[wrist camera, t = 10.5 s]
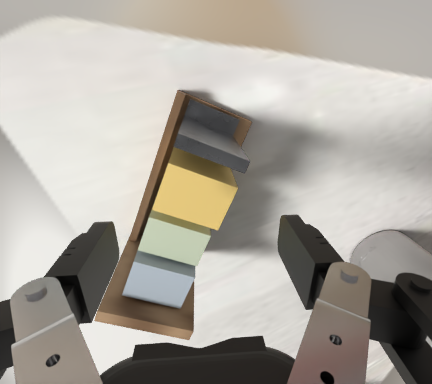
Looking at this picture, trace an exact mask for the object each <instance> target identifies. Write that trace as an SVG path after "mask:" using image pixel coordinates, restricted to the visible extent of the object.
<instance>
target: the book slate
mask: <svg viewBox="0 0 432 384" xmlns="http://www.w3.org/2000/svg"><path fill="white" fill-rule="evenodd" d="M194 279H195V266H194V265H190V264H187V263H183V262H179V261H176V260H172V259H168V258H165V257H161V256H157V255H154V254H150V253H146V252H143V251H139V250H138V251H137V253H136V256H135V259H134V262H133V265H132V268H131V271H130V274H129V276H128V279H127V282H126V285H125V288H124V291H123V294H122V296H127V297H131V298H136V299H140V300H144V301H149V302H153V303H157V304H162V305H166V306H170V307H175V308H179V309H180V308H181V306H182V304H183V302H184V300H185V298H186V296H187V294H188V292H189V290H190V287H191V285H192V283H193V281H194Z"/></svg>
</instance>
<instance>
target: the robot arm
mask: <svg viewBox="0 0 432 384" xmlns="http://www.w3.org/2000/svg"><path fill="white" fill-rule="evenodd" d="M278 252H279V255H280V257H281V259H282V261H283V263H284V265H285V267H286V270H287V272H288V274H289V276H290V278H291V280H292V282H293V284H294V286H295V288H296V290H297V292H298V295H299V297H300V299H301V301H302V303H303V305H304V307H305V309H306V310H311V309H313V311H312V314H311V316H310V319H309V322H308V325H307V328H306V331H305V333H304V336H303V339H302V342H301V345H300V348H299V351H298V353H297V356H296V359H294V358H292V357H291V356H289V355H287V354H285V353H283V352H281V351H279V350H276V349H273V348H269V347H266V346H265V343H264V339H263V336H254V337H240V338H231V339H228V340H225V341H222V342H219V343H216V344H213V345H210V346H207V347H204V348H193V347H188V346H183V345H177V344H172V343H155V344H141V345H135V349H134V353H133V357H130V358H127V359H125V360H123V361H121V362H119V363H117V364H115V365H114V366H112V367H111V368H109V369H108V370H107V371H105V372H104V373H102V374H101V375H100V376H99V373H98V371H97V369H96V366H95V364H94V361H93V359H92V356H91V354H90V352H89V349H88V347H87V344H86V342H85V340H84V337H83V335H82V332H81V330H80V328H79V324H80V323H92V320H93V318H94V316H95V314H96V311H97V309H98V307H99V304H100V302H101V300H102V297H103V295H104V293H105V290H106V288H107V286H108V284H109V281H110V279H111V277H112V274H113V272H114V270H115V268H116V265H117V263H118V260H119V247H118V242H117V237H116V232H115V227H114V224H113V222H95V223H93V225H92V226H91V228H90V229H89V230H88V232H87V233H82V234H81V235H79V236H78V237H76V238H75V239H74V240H72V242H71V243H70V244H69V245H68V247H67V249H65V250H64V252H63V253H62V255H61V256H60V257H59V258H58V259H57V261H56V262H55V263H54V265H53V266H52V267H51V268H50V270H49V271H48V273H47V274H46V275H45V276H44V277H43V278H39V279H36V280H33V281H31V282H28V283H27V284H25V285H23V286H22V287H21V288H19V289H18V290H17V291H16V292H15V293H14V294H13V295H12V297H11V299H9V300H5V301H2V302H0V379H1V377H2V376H3V374H4V372H5V371H6V369H7V368H9V367H12V366H14V374H15V381H16V384H365V380H366V369H367V358H368V347H369V339H371V340H375V341H379V343H380V344H381V346H382V347H383V349H384V351H385V352H386V354H387V355H388V357H389V358H390V360H391V362H392V363H393V365H394V366H395V368H396V369H397V371H398V372H399V374H400V376H401V377H402V379H403V380H404V382H405V383H406V384H432V254H431V253H429V252H428V251H427V250H425V249H424V248H423V247H421V246H420V245H418V244H417V243H416V242H414V241H413V240H412V239H410V238H409V237H407V236H406V235H405V234H403V233H401V232H399V231H393V230H388V231H382V232H378V233H375V234H373V235H371V236H369V237H367V238H366V239H365V240H363V241H362V242H361V243H360V244H359V245H358V246H357V247H356V248H355V250H354V252H353V253H352V256H351V259H350V263H348V262H344V261H343V259H342V258H341V257H340V256H339V254H338V253H337V252H336V251H335V250H334V248H333V247H332V246H331V245H330V244H329V242H328V241H327V240H326V239H325V238H324V236H323V235H322V234H321V233H320V231H319V230H318V229H316V228H314V227H313V226H311V225H310V224H305V223H304V222H303V220H302V219H301V218H300V217H299V215H282V216H281V219H280V226H279V235H278Z"/></svg>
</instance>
